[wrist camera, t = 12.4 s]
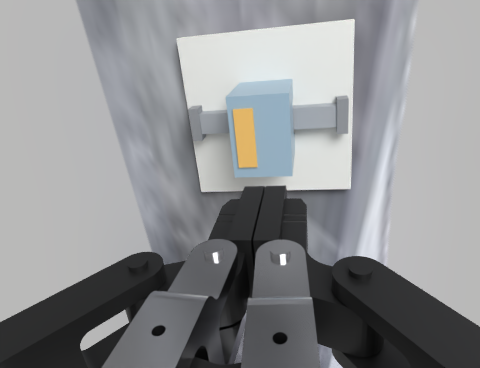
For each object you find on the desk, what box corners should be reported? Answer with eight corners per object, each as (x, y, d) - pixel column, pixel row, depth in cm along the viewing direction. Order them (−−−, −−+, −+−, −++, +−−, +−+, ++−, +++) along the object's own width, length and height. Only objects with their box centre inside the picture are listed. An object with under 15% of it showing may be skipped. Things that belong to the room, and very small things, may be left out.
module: (239, 82, 35) (225, 97, 29) (292, 78, 34) (288, 93, 28) (246, 151, 38) (234, 178, 32) (295, 149, 37) (292, 177, 31)
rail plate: (179, 37, 35) (171, 39, 33) (353, 19, 32) (356, 19, 30) (203, 188, 42) (197, 198, 39) (349, 184, 39) (352, 195, 36)
